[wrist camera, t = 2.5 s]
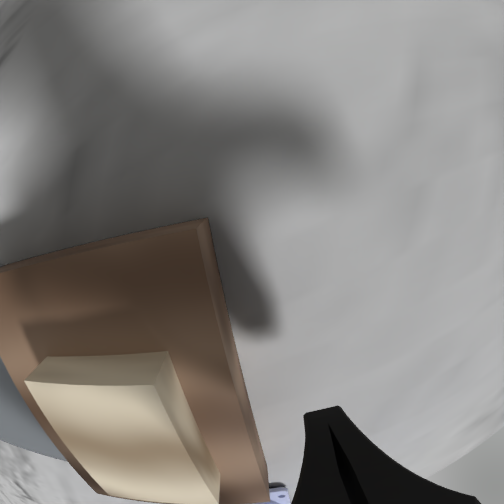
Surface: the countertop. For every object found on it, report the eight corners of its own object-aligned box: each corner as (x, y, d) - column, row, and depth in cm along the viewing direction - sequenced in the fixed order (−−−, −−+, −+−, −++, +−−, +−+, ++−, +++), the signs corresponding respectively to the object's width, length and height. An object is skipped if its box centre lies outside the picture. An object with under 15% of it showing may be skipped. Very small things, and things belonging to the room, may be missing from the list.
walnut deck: (267, 466, 15) (270, 501, 12) (107, 465, 15) (96, 493, 12) (207, 217, 12) (196, 228, 9) (6, 264, 12) (-29, 280, 9)
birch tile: (220, 474, 11) (218, 504, 9) (118, 469, 11) (109, 495, 10) (168, 350, 10) (153, 384, 8) (47, 356, 10) (23, 380, 8)
